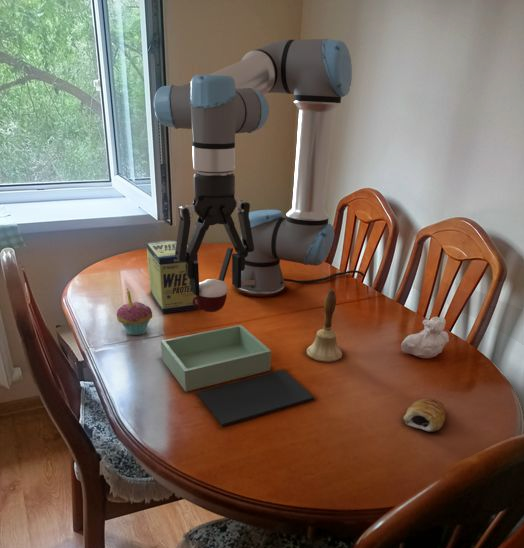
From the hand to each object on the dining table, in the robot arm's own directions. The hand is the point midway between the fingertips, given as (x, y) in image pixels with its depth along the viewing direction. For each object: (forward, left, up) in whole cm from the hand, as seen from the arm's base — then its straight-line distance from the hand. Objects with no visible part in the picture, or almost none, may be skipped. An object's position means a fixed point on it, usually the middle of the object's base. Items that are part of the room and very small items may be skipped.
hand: (216, 289), depth 100 cm
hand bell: (-25, +6, -18) cm, 31 cm away
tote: (0, 0, -18) cm, 18 cm away
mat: (-2, +15, -18) cm, 23 cm away
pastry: (-27, +36, -18) cm, 48 cm away
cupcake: (+11, -24, -18) cm, 33 cm away
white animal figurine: (-46, +17, -18) cm, 52 cm away
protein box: (-4, -38, -18) cm, 43 cm away
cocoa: (+1, 0, -4) cm, 4 cm away
